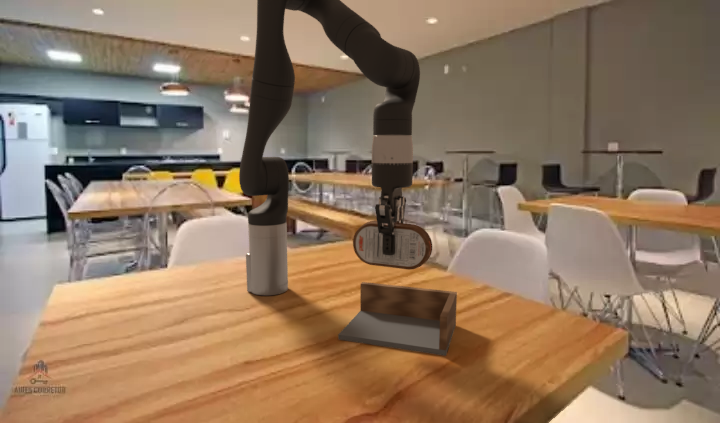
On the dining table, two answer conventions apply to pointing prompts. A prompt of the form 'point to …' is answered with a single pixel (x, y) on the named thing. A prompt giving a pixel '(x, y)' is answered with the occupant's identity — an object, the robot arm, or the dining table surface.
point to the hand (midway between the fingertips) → (391, 252)
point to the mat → (395, 332)
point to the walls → (412, 305)
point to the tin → (409, 246)
